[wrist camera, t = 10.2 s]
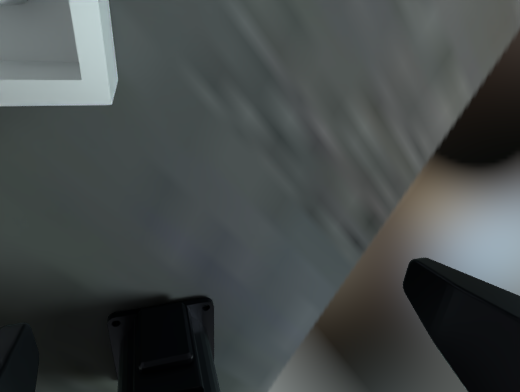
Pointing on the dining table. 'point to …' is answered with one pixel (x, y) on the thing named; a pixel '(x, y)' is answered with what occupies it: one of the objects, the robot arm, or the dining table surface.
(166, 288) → the dining table surface
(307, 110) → the dining table surface
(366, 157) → the dining table surface
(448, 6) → the dining table surface
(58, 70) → the white open box
